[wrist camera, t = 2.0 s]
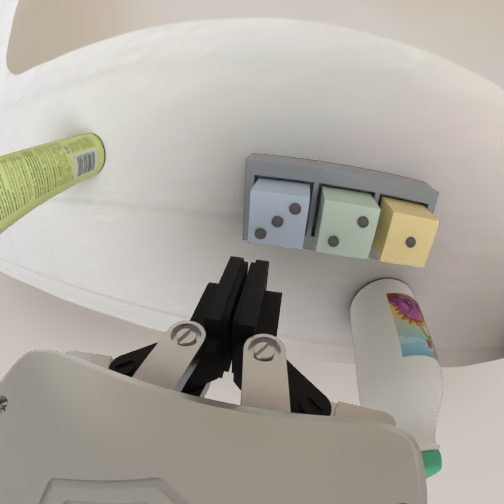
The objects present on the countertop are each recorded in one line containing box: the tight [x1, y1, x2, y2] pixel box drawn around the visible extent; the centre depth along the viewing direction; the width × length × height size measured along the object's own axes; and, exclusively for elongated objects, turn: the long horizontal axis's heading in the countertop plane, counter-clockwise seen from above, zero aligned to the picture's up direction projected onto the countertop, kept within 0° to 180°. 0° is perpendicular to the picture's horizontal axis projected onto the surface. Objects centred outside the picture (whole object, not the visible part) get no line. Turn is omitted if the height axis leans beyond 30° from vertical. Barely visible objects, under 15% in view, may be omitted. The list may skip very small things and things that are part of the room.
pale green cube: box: [315, 186, 381, 260], centre depth 20 cm, size 4×4×4 cm
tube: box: [0, 134, 104, 234], centre depth 17 cm, size 6×5×20 cm
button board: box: [242, 153, 439, 259], centre depth 22 cm, size 16×7×3 cm, turn 86°
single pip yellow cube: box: [372, 196, 439, 268], centre depth 19 cm, size 4×4×4 cm
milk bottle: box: [350, 279, 443, 478], centre depth 20 cm, size 8×8×20 cm
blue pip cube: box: [248, 178, 310, 250], centre depth 20 cm, size 4×4×4 cm
